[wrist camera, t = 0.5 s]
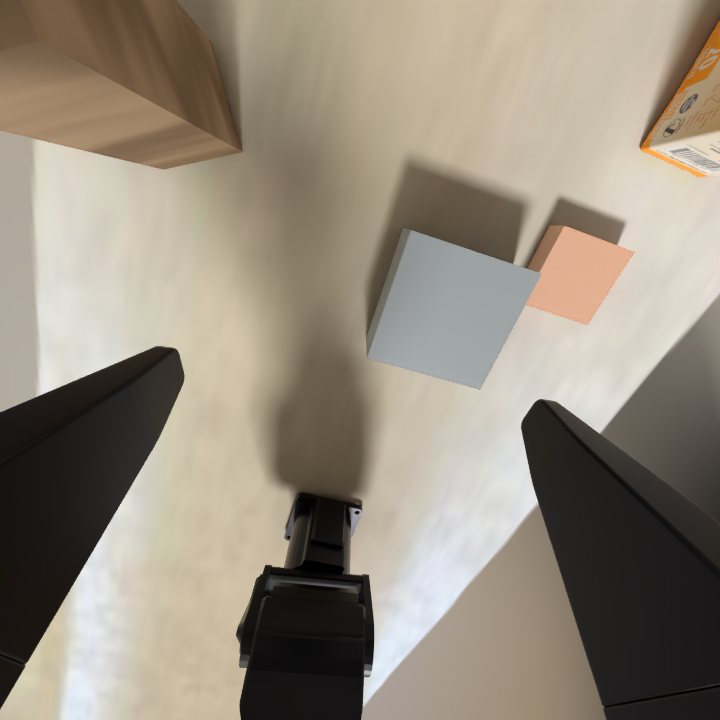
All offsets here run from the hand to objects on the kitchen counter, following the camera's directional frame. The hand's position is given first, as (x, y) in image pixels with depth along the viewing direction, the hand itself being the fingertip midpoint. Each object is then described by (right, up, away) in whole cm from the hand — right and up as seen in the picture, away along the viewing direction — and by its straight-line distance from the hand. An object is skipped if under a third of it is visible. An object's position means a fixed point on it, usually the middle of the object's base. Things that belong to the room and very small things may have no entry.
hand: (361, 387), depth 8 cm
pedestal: (+5, +5, +15) cm, 17 cm away
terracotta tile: (+14, +7, +14) cm, 21 cm away
